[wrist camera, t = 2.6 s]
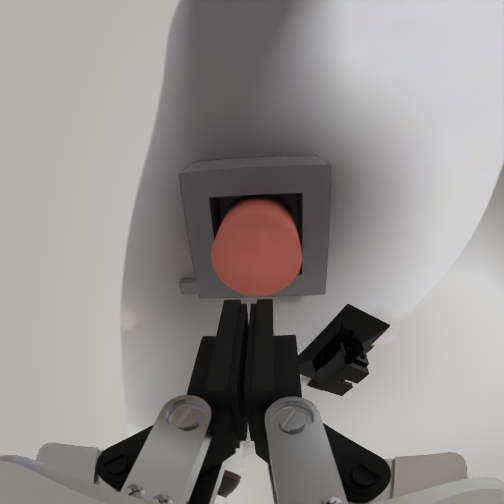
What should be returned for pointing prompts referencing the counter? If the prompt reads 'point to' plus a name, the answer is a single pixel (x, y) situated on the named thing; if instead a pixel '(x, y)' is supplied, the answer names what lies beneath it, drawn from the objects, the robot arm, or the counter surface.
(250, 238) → the plunger
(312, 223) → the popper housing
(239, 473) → the spread jar
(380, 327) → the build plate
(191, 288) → the strip
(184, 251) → the counter surface
